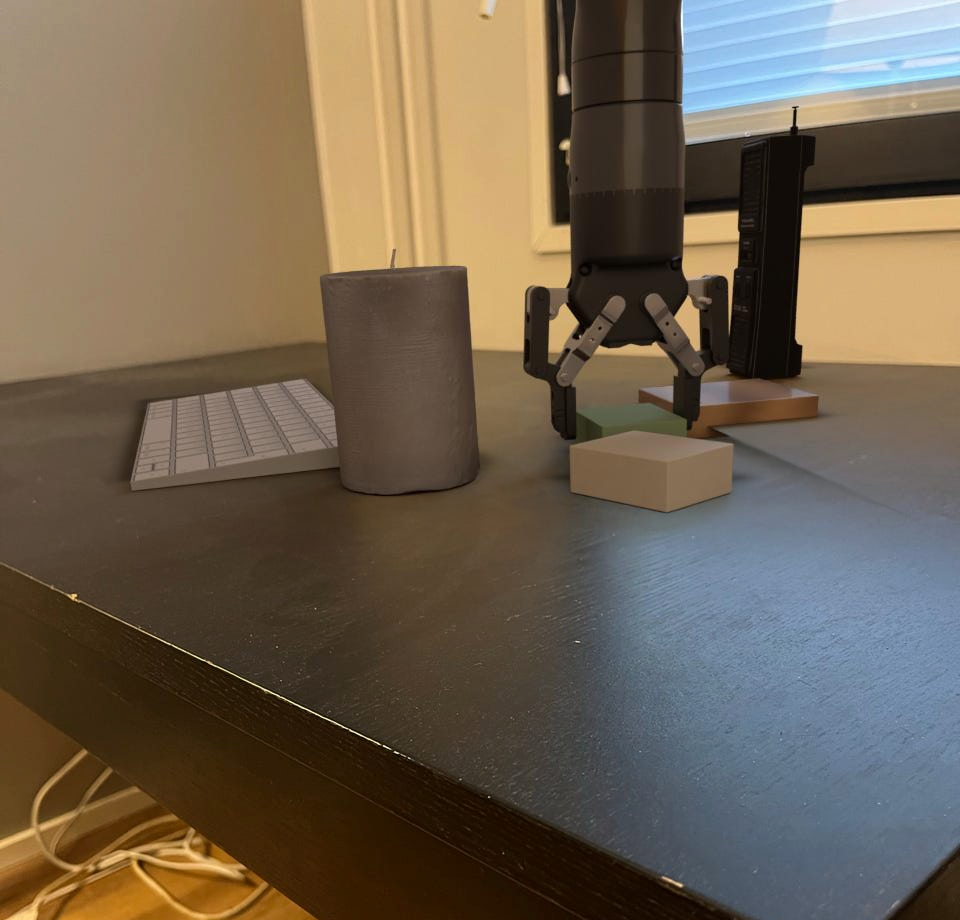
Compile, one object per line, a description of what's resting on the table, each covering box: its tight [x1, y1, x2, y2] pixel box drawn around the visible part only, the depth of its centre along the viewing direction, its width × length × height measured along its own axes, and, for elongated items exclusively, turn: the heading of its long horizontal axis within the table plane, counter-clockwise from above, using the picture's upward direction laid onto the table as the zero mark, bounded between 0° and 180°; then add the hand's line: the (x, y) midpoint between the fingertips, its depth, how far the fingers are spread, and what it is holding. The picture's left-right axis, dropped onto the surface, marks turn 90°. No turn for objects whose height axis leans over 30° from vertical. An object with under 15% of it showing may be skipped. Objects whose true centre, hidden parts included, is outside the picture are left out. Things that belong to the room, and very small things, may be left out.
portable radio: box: [725, 105, 817, 380], centre depth 100 cm, size 8×6×25 cm
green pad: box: [573, 403, 687, 445], centre depth 71 cm, size 6×8×3 cm
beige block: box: [569, 430, 734, 513], centre depth 61 cm, size 6×8×3 cm
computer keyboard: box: [129, 378, 340, 492], centre depth 91 cm, size 43×19×2 cm, turn 14°
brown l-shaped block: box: [638, 378, 820, 439], centre depth 81 cm, size 11×11×2 cm
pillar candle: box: [319, 248, 481, 496], centre depth 66 cm, size 10×10×15 cm
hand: (625, 433), depth 71 cm, fingers open, 8 cm apart
